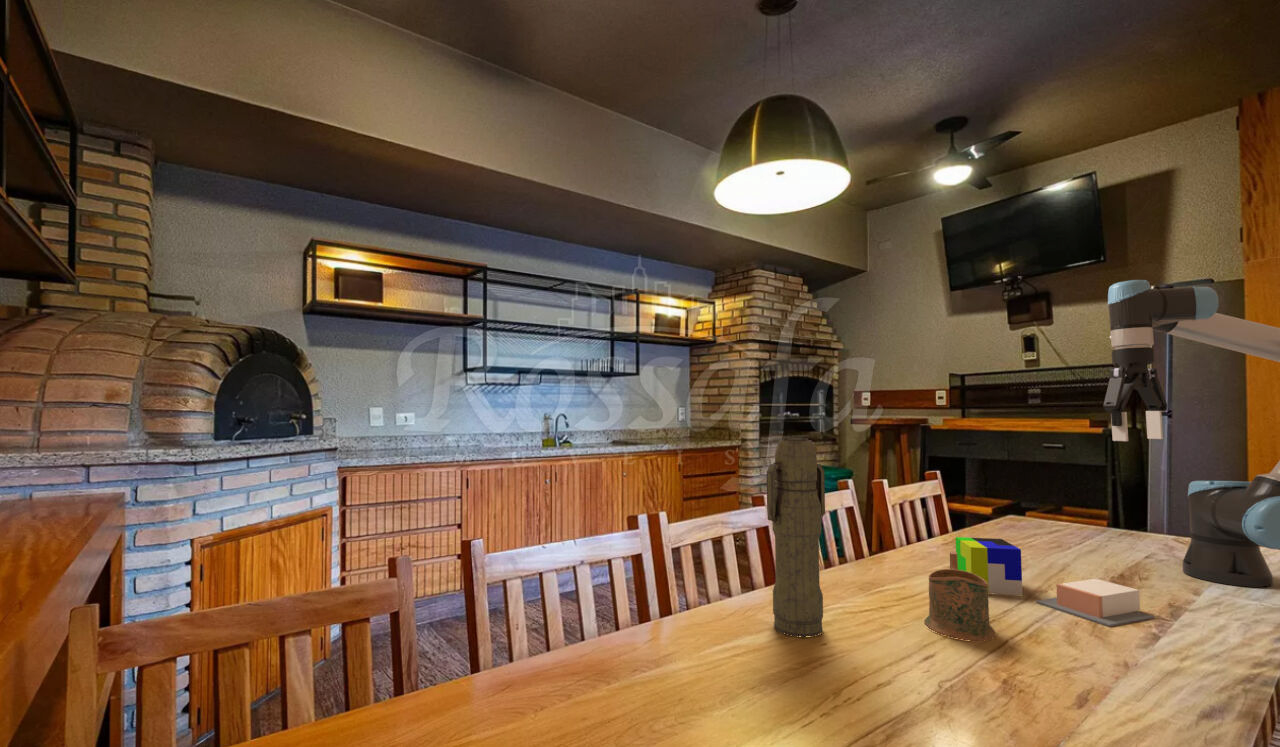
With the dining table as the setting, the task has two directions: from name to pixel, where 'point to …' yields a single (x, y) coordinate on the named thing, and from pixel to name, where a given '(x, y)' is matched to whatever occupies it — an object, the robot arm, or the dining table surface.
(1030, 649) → the dining table surface
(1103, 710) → the dining table surface
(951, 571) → the brown hat
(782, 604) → the robed figure statue
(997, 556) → the puzzle toy
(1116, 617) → the mat
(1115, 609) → the tall block
